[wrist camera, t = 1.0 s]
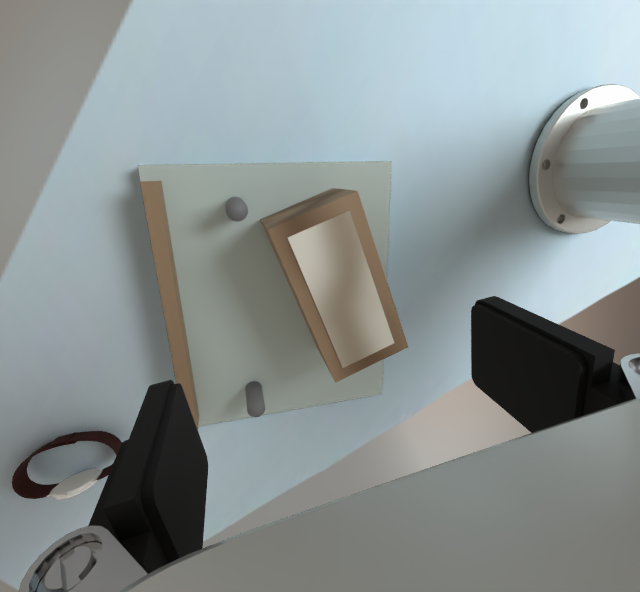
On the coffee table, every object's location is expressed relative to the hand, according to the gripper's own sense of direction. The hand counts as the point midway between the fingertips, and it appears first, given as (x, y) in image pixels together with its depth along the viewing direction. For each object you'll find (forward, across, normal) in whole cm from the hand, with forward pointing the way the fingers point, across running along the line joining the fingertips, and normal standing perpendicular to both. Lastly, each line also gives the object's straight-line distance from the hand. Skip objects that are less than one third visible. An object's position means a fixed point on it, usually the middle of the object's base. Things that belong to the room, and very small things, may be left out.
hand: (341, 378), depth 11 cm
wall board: (+19, 0, +4) cm, 19 cm away
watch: (+19, +20, +13) cm, 30 cm away
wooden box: (+18, -4, +2) cm, 18 cm away
